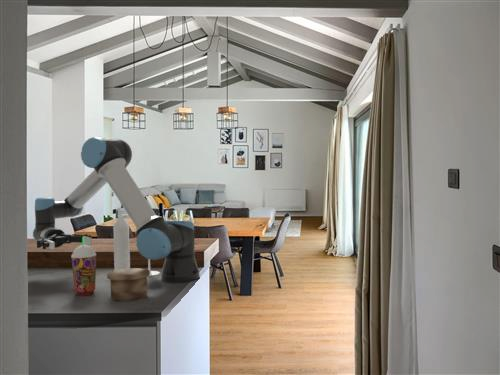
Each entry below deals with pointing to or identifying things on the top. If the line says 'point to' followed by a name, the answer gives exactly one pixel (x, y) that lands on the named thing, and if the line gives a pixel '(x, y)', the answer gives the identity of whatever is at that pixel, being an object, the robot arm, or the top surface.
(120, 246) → the water bottle
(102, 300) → the top surface
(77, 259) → the smoothie
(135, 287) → the tan muffin-shaped cylinder
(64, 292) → the top surface
